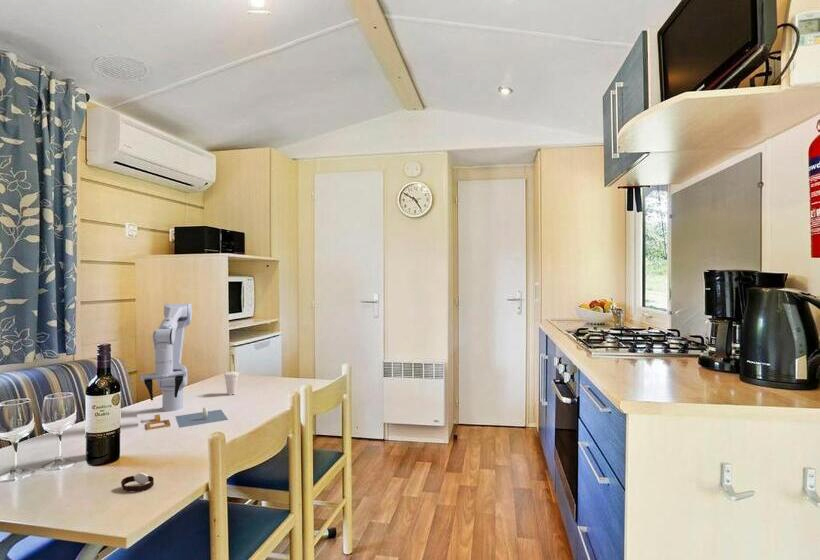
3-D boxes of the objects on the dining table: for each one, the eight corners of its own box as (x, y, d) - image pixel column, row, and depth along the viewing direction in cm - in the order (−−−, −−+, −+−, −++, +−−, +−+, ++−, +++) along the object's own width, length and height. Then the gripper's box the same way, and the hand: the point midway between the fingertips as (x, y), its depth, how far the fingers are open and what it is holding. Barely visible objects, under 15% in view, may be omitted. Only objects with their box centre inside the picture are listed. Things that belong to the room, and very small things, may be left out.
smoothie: (233, 396, 196) (233, 365, 196) (221, 395, 197) (221, 364, 197) (242, 392, 202) (242, 362, 202) (229, 392, 204) (229, 362, 204)
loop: (170, 429, 153) (170, 421, 153) (147, 432, 149) (147, 425, 149) (167, 419, 163) (167, 413, 163) (146, 423, 159) (146, 416, 159)
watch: (158, 484, 112) (158, 470, 112) (147, 493, 107) (147, 478, 107) (128, 484, 112) (128, 470, 112) (115, 493, 107) (116, 478, 107)
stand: (175, 418, 164) (175, 405, 164) (221, 412, 173) (221, 399, 173) (179, 430, 151) (179, 416, 151) (228, 422, 160) (228, 408, 160)
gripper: (140, 365, 153) (140, 403, 153) (187, 361, 160) (187, 397, 160) (140, 361, 158) (140, 399, 159) (185, 358, 166) (185, 393, 166)
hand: (163, 398), depth 160 cm, fingers open, 7 cm apart
